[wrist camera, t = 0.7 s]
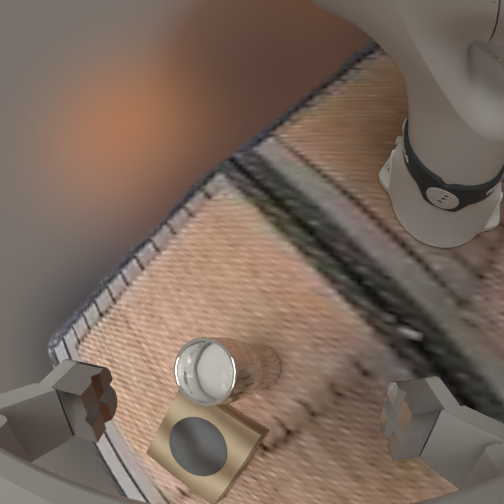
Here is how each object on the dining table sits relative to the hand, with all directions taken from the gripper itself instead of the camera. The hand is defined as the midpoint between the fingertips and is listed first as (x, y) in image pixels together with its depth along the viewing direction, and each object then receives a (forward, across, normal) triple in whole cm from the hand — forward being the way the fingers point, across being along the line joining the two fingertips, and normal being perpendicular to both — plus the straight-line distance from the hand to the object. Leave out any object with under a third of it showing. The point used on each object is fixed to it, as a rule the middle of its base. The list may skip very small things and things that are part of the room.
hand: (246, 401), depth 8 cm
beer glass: (+30, 0, +18) cm, 35 cm away
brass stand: (+25, +7, +30) cm, 40 cm away
